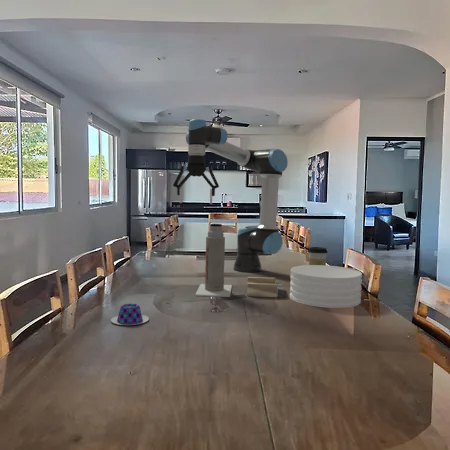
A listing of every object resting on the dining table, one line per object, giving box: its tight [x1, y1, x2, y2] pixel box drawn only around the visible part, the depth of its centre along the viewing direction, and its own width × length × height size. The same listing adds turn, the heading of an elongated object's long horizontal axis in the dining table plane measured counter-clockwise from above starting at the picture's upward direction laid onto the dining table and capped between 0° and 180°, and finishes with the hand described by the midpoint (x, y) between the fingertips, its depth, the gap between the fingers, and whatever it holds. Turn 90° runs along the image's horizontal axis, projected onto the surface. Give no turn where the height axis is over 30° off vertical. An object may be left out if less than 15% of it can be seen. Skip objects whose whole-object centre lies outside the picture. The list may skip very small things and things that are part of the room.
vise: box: [246, 276, 285, 298], centre depth 180 cm, size 15×15×5 cm
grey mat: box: [195, 283, 233, 298], centre depth 181 cm, size 20×14×1 cm
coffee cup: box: [307, 246, 329, 265], centre depth 215 cm, size 10×10×15 cm
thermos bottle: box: [204, 223, 226, 291], centre depth 180 cm, size 8×8×28 cm
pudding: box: [110, 303, 150, 326], centre depth 137 cm, size 12×12×5 cm
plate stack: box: [289, 264, 363, 309], centre depth 172 cm, size 28×28×12 cm
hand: (195, 203), depth 190 cm, fingers open, 13 cm apart
